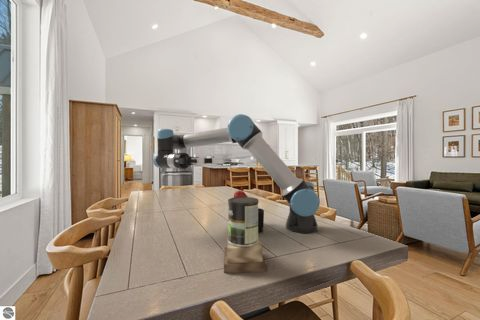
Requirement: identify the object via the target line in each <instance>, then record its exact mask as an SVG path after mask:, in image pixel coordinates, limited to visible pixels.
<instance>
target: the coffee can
mask: <svg viewBox="0 0 480 320" xmlns="http://www.w3.org/2000/svg"><path fill="white" fill-rule="evenodd" d="M259 201H260V200H259V199H258V198H255V197H250V196H248V197H234V196H233V197H231V198H228V200H227V202H228V203H227V204H228V216H227V217H228V220H227V221H228V223H227V224H228V229H227V230H228V231H227V232H228V235H227V236H228V242H229V244H231V245H233V246H237V247H250V246H254V245H256V244H257V243H258V238H259V233H258V208H259Z"/></svg>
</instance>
